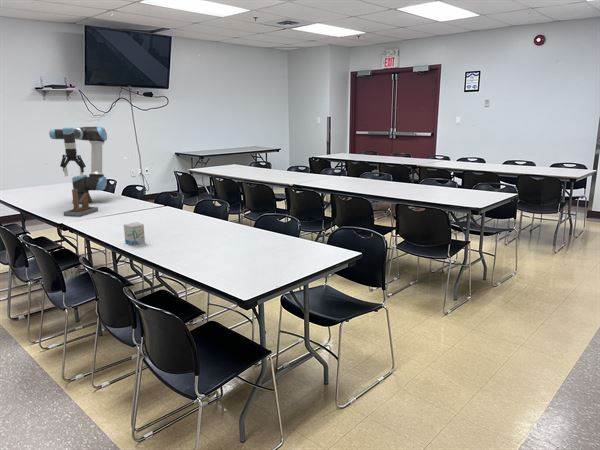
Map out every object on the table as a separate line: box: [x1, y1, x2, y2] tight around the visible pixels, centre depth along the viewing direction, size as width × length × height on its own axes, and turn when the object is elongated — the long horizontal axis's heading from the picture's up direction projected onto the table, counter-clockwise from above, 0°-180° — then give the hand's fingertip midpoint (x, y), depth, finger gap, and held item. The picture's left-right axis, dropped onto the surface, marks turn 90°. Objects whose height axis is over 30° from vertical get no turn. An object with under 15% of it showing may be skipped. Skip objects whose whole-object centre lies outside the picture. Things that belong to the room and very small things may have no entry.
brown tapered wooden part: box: [71, 189, 90, 213], centre depth 350 cm, size 4×11×18 cm, turn 145°
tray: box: [63, 206, 99, 218], centre depth 352 cm, size 21×14×3 cm, turn 167°
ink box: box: [123, 221, 146, 246], centre depth 272 cm, size 8×8×12 cm
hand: (74, 176), depth 350 cm, fingers open, 13 cm apart
